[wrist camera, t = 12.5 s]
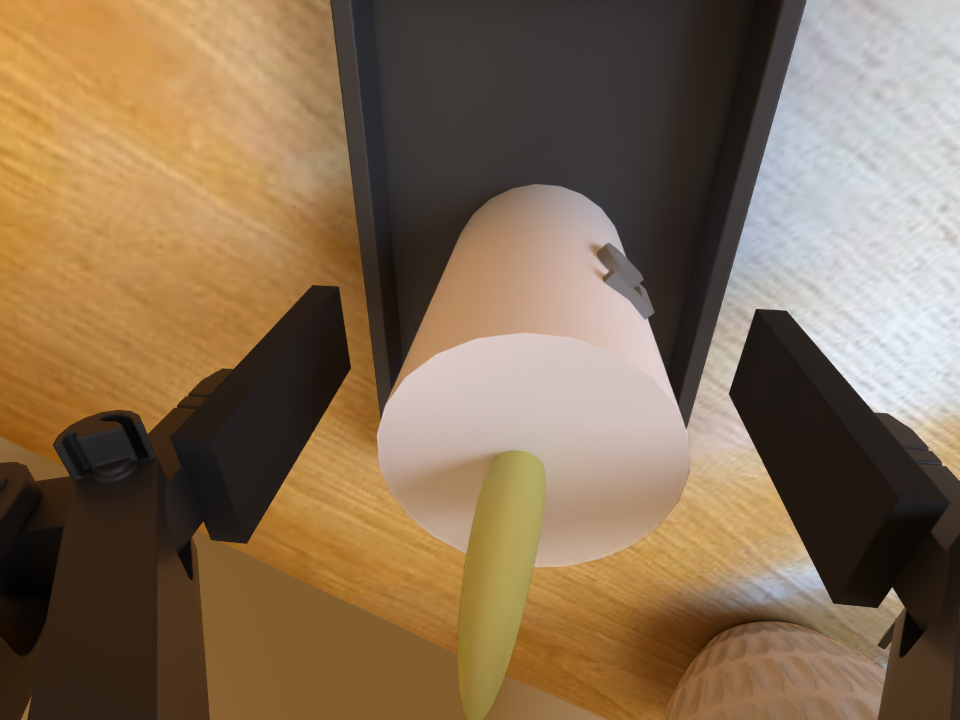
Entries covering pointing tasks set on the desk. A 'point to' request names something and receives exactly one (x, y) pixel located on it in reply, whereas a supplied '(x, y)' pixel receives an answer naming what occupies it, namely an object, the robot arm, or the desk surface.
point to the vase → (777, 678)
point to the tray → (560, 141)
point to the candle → (531, 413)
